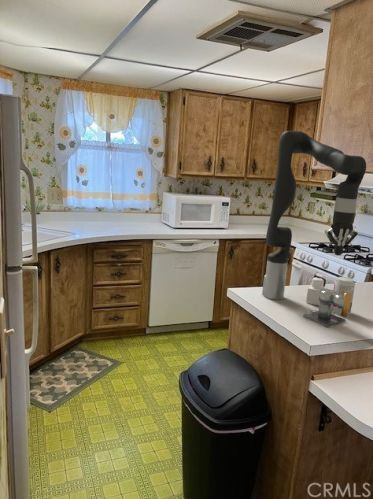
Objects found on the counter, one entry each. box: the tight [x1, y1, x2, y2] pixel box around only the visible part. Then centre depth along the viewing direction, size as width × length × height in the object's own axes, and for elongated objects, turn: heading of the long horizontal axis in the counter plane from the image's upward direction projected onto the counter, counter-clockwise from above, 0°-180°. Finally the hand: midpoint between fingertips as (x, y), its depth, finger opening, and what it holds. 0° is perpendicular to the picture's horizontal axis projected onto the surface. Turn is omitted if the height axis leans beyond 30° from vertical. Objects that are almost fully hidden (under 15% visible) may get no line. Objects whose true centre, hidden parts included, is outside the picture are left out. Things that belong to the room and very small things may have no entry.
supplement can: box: [332, 276, 356, 316], centre depth 175 cm, size 8×8×15 cm
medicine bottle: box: [306, 276, 328, 307], centre depth 186 cm, size 7×7×12 cm
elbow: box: [319, 288, 352, 319], centre depth 162 cm, size 14×6×9 cm, turn 33°
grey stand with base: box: [302, 301, 347, 328], centre depth 166 cm, size 12×12×8 cm
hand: (337, 254), depth 156 cm, fingers closed
